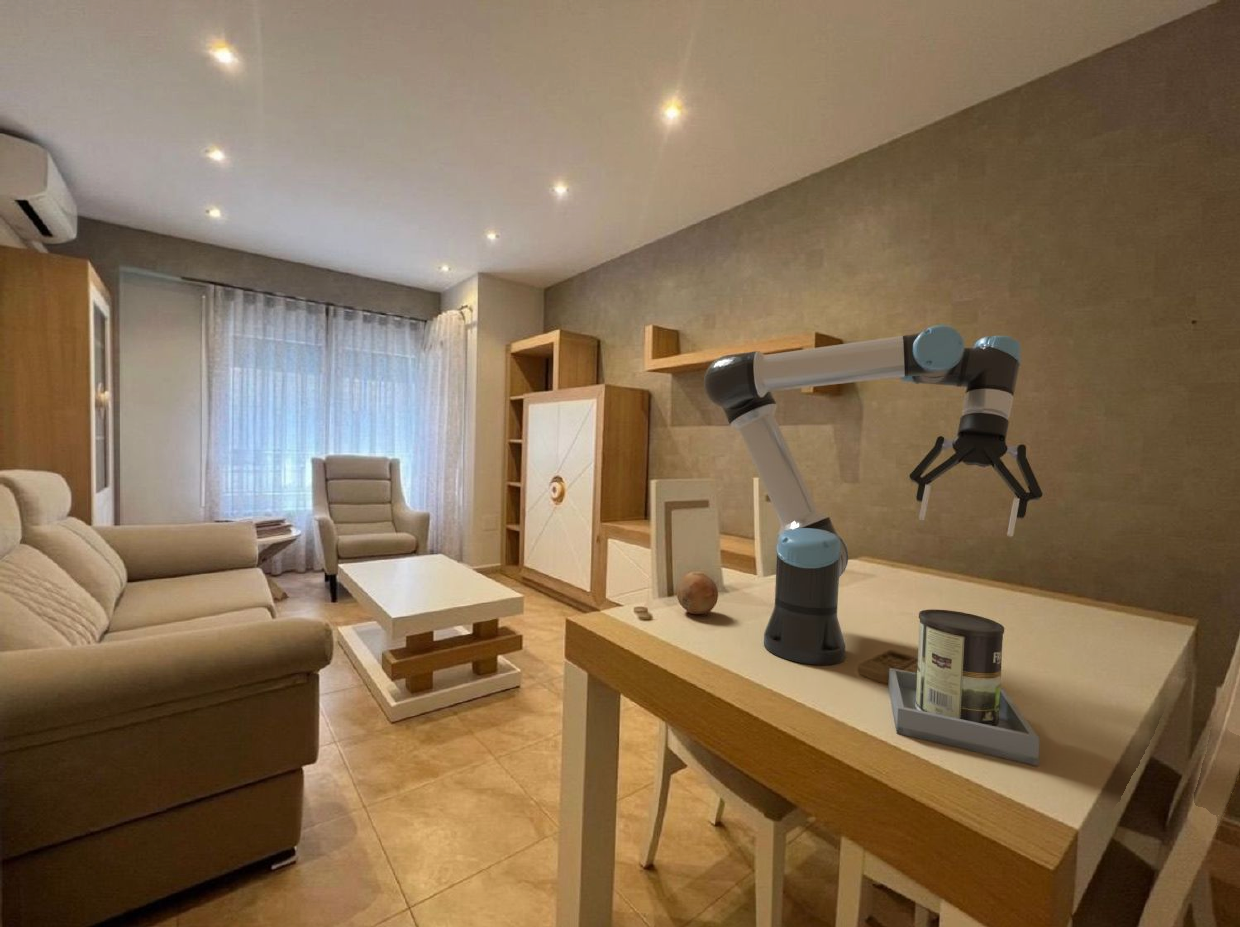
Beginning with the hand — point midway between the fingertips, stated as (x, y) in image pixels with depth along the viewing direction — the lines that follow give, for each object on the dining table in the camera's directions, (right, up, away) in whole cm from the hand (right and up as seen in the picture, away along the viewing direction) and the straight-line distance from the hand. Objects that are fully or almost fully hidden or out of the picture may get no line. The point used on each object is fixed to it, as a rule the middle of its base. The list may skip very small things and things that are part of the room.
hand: (963, 527), depth 93 cm
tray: (-15, -26, -19) cm, 36 cm away
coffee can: (-15, -25, -20) cm, 35 cm away
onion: (-45, -24, +28) cm, 58 cm away
